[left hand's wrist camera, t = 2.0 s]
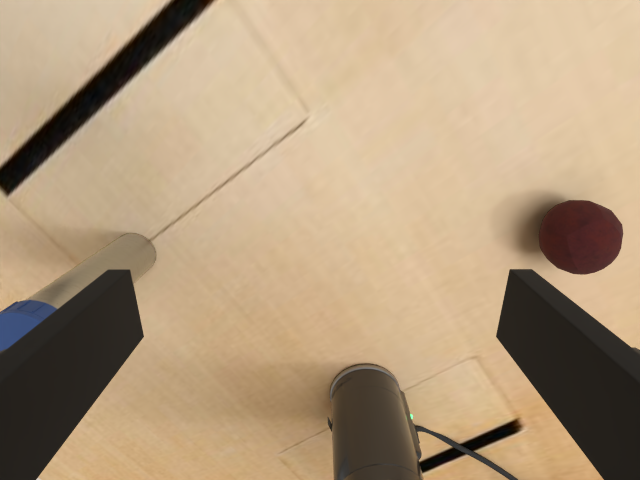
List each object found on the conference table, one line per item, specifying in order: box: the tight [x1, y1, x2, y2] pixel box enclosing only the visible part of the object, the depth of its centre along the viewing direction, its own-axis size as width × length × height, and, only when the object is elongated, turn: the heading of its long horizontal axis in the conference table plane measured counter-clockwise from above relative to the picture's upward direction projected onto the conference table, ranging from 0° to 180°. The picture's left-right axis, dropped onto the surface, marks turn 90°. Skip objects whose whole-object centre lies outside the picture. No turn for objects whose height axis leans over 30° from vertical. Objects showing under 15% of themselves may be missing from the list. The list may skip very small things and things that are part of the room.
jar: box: [27, 233, 156, 309], centre depth 35 cm, size 5×5×17 cm
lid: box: [0, 300, 57, 351], centre depth 27 cm, size 5×5×2 cm
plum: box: [539, 200, 623, 274], centre depth 38 cm, size 7×8×7 cm
